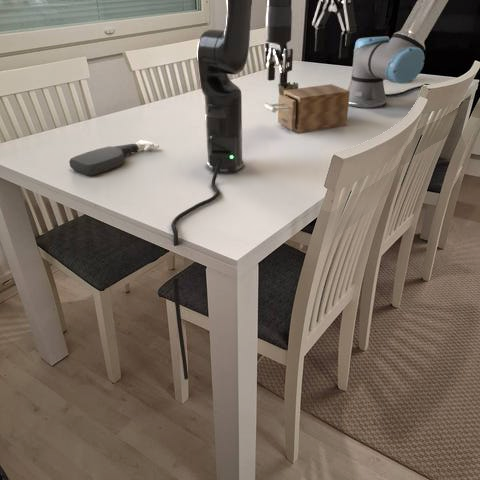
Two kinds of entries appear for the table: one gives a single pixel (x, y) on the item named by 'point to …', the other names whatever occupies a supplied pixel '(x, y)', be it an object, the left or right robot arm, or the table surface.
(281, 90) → the cup
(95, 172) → the spray bottle
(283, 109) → the drawer
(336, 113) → the cabinet
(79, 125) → the table surface
